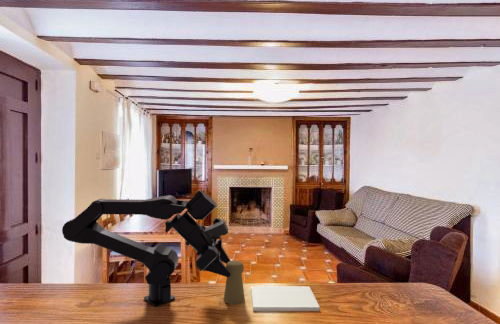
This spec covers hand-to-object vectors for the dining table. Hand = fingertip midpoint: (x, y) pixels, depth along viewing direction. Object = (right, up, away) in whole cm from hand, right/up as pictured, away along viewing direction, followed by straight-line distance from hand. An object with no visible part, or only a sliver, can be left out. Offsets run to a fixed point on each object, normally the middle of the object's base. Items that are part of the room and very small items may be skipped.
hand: (230, 269), depth 95 cm
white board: (+15, -9, +1) cm, 18 cm away
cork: (+1, -9, +1) cm, 9 cm away
